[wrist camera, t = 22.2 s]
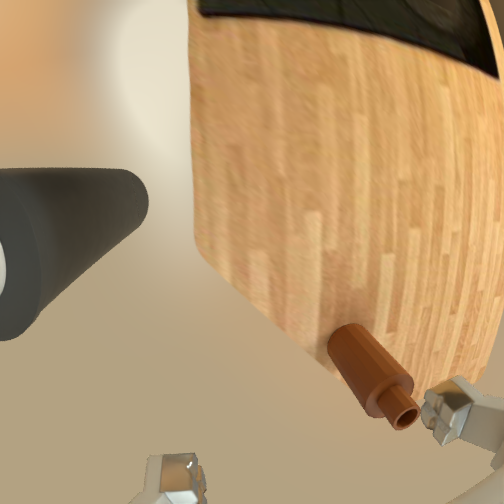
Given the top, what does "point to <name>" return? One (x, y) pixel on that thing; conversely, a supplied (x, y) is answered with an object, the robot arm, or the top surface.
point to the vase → (374, 376)
